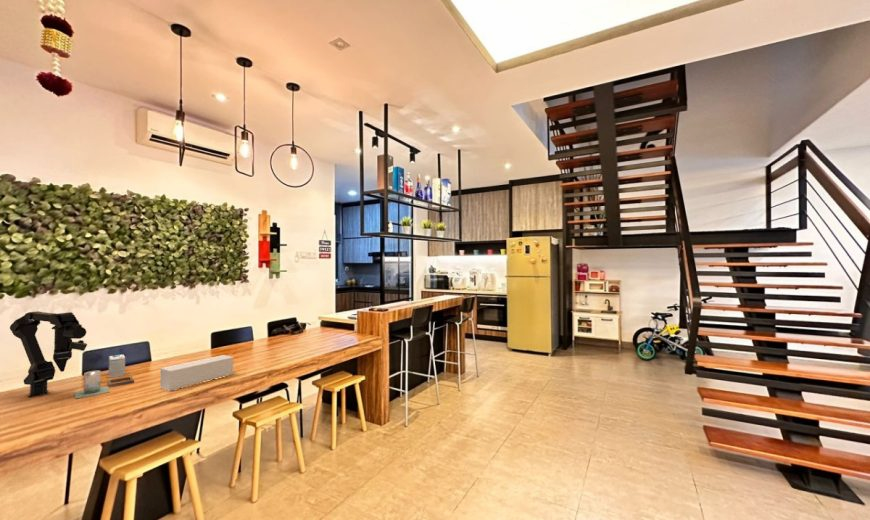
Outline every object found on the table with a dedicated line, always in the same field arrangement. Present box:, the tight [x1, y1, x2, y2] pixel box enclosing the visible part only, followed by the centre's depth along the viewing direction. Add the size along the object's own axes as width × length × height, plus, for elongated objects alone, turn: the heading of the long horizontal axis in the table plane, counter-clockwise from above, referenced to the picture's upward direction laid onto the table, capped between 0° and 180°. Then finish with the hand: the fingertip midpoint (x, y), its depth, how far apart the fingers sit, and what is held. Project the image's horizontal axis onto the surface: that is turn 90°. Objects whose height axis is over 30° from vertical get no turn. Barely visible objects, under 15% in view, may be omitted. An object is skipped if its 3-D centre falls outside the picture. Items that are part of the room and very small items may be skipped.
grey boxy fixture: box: [108, 353, 126, 379], centre depth 205 cm, size 11×7×11 cm, turn 47°
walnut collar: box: [107, 376, 135, 388], centre depth 190 cm, size 10×10×2 cm
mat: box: [74, 385, 110, 400], centre depth 175 cm, size 12×12×1 cm
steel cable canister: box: [83, 370, 102, 394], centre depth 175 cm, size 6×6×10 cm
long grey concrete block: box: [159, 354, 234, 392], centre depth 193 cm, size 32×11×11 cm, turn 148°
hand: (62, 369), depth 171 cm, fingers open, 9 cm apart
